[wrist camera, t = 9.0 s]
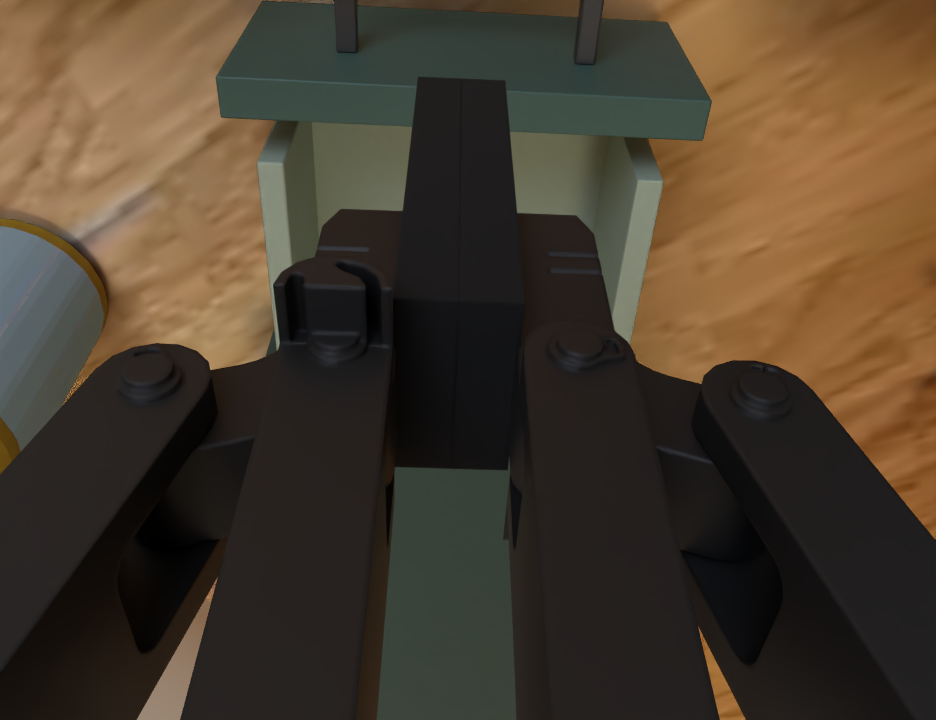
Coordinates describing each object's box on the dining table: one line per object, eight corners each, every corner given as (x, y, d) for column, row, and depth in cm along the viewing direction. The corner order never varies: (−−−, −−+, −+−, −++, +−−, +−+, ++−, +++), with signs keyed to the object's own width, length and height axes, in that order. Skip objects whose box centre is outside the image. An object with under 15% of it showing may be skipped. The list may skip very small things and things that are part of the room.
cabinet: (280, 304, 38) (238, 447, 31) (620, 318, 38) (654, 462, 31) (307, 578, 50) (281, 726, 43) (568, 586, 50) (584, 733, 43)
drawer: (243, -195, 26) (184, -158, 20) (703, -168, 26) (765, -125, 21) (298, 400, 40) (271, 515, 35) (594, 411, 40) (614, 526, 35)
